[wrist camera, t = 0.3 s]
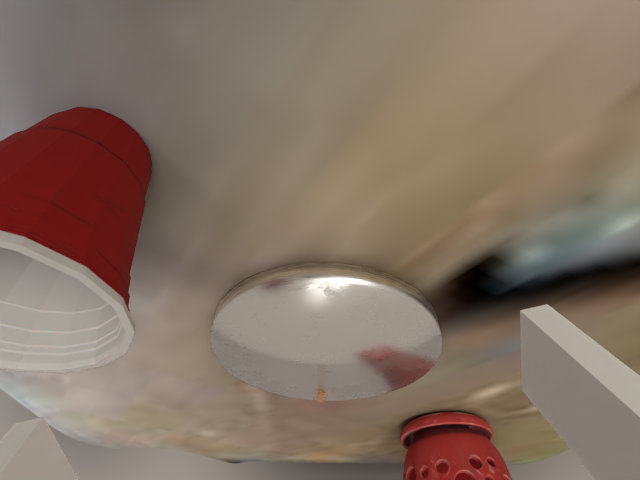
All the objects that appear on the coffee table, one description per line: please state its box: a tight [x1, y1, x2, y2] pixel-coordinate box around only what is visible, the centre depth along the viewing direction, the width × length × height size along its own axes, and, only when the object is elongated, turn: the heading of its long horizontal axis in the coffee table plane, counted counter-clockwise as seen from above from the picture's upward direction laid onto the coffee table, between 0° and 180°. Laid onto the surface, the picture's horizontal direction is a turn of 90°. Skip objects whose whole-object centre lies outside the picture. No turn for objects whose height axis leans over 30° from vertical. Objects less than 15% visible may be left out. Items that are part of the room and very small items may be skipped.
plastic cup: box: [0, 107, 152, 373], centre depth 20 cm, size 11×11×12 cm
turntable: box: [210, 262, 442, 402], centre depth 35 cm, size 20×20×2 cm
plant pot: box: [400, 411, 512, 480], centre depth 48 cm, size 13×13×12 cm
